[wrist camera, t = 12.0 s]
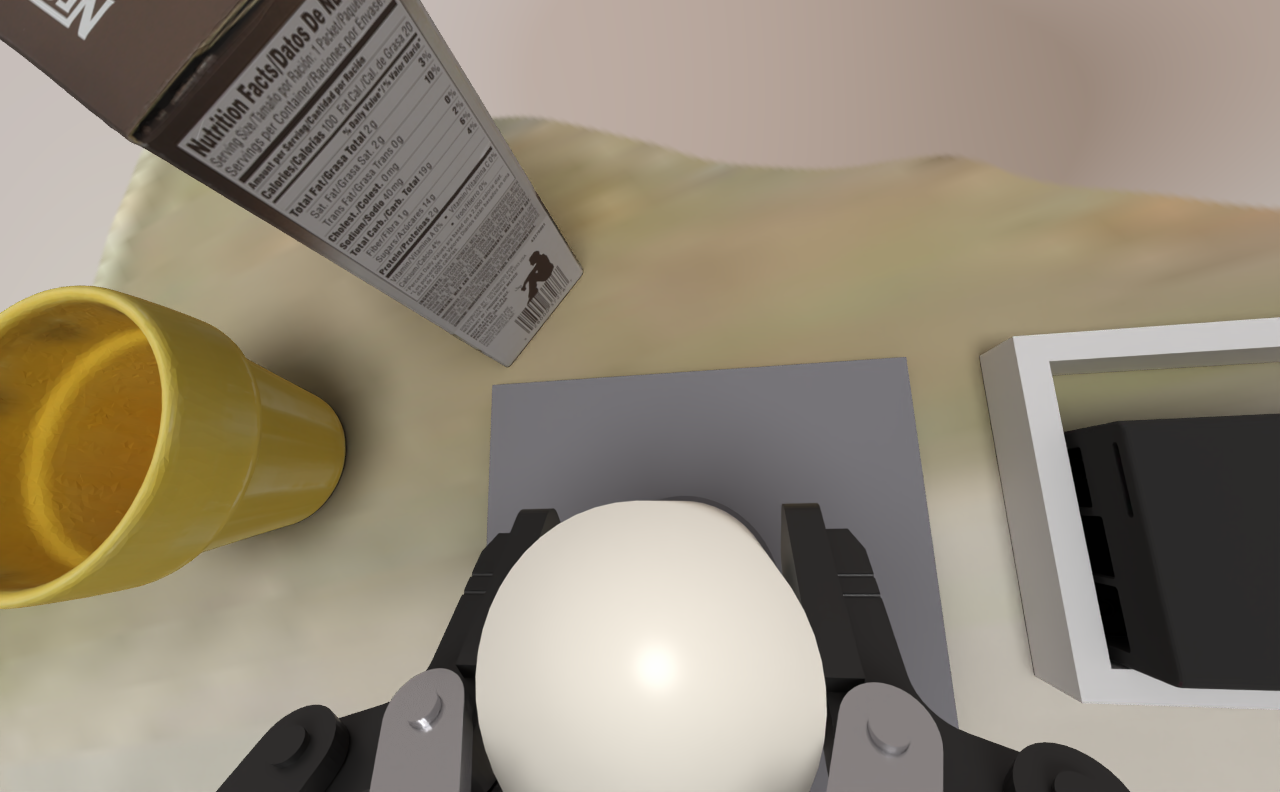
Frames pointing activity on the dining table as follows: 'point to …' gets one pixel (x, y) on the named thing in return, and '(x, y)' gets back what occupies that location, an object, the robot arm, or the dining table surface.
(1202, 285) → the dining table surface
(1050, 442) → the grey organizer frame
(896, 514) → the charcoal mat
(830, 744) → the robot arm
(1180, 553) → the electronic device
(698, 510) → the white capsule dome
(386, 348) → the dining table surface
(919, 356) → the dining table surface
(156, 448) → the plant pot
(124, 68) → the coffee box
